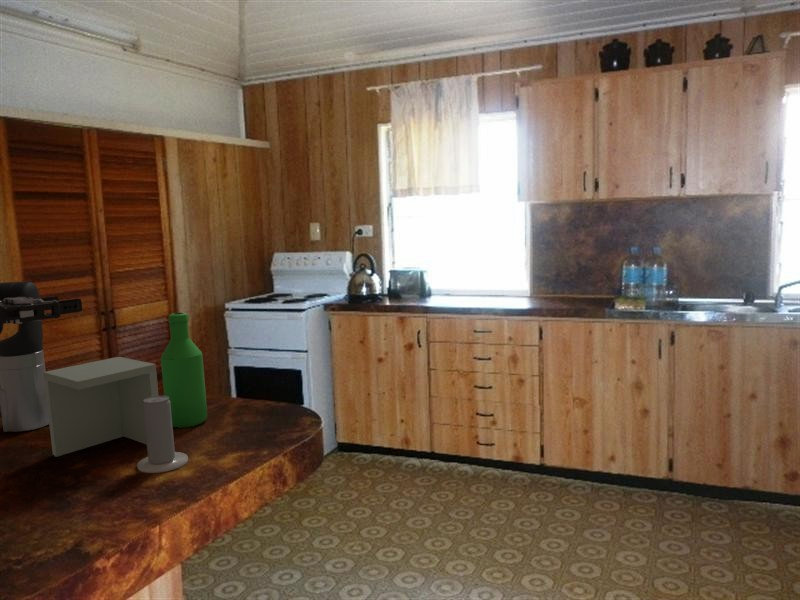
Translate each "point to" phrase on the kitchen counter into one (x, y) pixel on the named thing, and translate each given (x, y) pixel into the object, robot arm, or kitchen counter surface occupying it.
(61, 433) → the shelf housing
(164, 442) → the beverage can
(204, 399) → the bottle
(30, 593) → the kitchen counter surface
